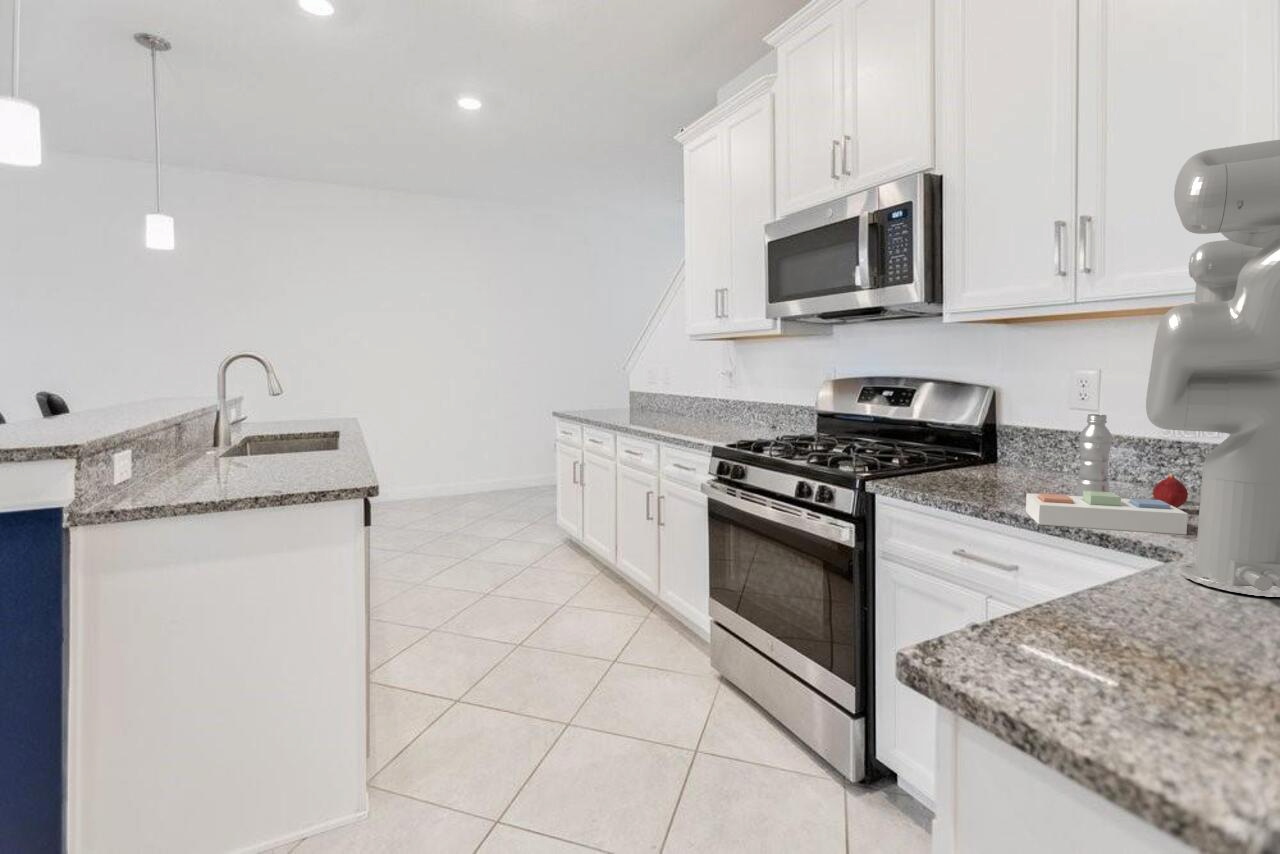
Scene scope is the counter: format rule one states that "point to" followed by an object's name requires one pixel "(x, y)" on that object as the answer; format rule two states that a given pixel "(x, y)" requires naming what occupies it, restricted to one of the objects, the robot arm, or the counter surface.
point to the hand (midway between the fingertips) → (1213, 421)
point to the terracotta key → (1055, 498)
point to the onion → (1170, 492)
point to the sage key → (1101, 498)
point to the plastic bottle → (1094, 455)
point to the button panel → (1107, 516)
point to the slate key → (1149, 503)
